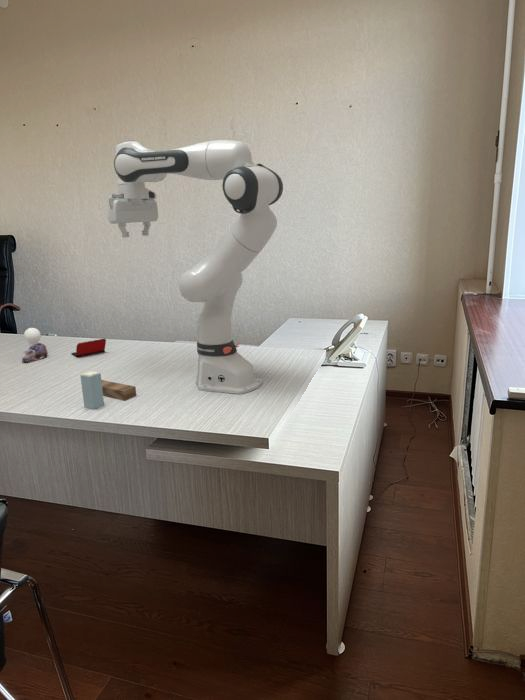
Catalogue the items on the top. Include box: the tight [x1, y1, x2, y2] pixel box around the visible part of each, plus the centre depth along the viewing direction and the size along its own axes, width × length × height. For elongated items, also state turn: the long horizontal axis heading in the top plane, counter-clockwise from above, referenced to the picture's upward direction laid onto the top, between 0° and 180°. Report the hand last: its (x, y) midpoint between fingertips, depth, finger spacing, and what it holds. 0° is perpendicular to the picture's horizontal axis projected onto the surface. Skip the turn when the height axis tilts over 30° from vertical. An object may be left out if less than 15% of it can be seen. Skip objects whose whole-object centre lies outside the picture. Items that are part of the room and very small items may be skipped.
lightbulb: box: [23, 327, 42, 347], centre depth 217 cm, size 6×6×11 cm
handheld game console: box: [70, 338, 107, 358], centre depth 214 cm, size 12×10×7 cm
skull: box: [21, 342, 49, 364], centre depth 209 cm, size 12×8×6 cm, turn 159°
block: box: [80, 370, 105, 410], centre depth 157 cm, size 4×4×10 cm
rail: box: [101, 379, 137, 402], centre depth 168 cm, size 16×5×3 cm, turn 59°
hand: (135, 236), depth 180 cm, fingers open, 8 cm apart
